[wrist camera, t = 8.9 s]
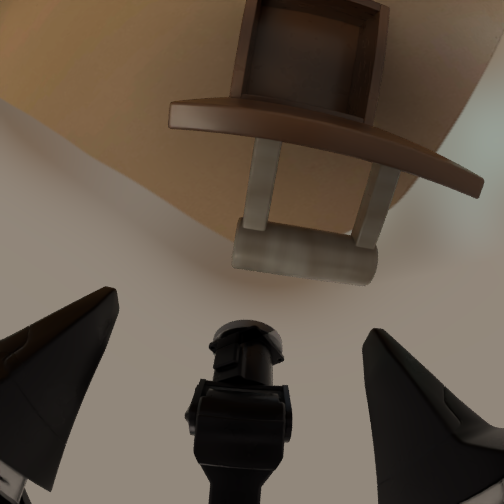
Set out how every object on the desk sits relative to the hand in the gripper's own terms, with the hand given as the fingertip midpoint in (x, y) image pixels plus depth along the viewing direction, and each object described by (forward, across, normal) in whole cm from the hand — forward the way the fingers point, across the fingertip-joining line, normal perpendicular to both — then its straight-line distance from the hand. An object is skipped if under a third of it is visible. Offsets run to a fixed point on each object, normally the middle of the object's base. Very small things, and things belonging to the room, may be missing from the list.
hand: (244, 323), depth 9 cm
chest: (+13, -1, -11) cm, 17 cm away
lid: (+3, -1, -7) cm, 8 cm away
